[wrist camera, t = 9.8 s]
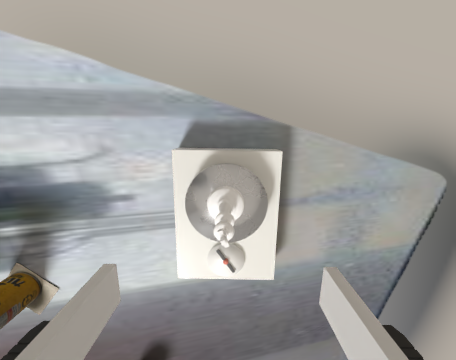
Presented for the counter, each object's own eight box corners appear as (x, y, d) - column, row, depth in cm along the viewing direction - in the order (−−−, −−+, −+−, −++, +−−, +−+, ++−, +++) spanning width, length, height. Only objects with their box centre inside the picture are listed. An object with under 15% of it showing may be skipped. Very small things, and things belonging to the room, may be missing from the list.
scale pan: (186, 161, 28) (183, 163, 27) (267, 162, 28) (270, 164, 27) (188, 235, 31) (186, 241, 29) (263, 236, 31) (265, 243, 29)
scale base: (178, 147, 32) (170, 150, 28) (276, 149, 32) (284, 151, 27) (183, 262, 37) (176, 281, 32) (268, 264, 37) (274, 283, 32)
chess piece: (215, 226, 29) (208, 275, 19) (201, 194, 28) (185, 228, 18) (249, 213, 28) (260, 257, 18) (236, 180, 27) (239, 207, 17)
